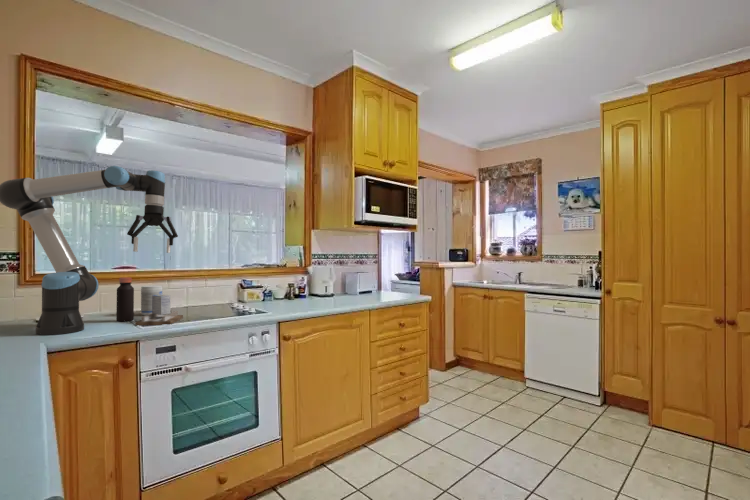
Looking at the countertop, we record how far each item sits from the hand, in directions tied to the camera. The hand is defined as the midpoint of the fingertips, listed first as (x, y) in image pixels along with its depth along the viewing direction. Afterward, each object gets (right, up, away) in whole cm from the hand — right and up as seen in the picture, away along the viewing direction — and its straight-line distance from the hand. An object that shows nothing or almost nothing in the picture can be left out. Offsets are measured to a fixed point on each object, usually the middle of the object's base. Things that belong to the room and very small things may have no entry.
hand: (152, 252), depth 175 cm
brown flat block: (+2, -32, +3) cm, 32 cm away
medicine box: (+2, -29, +3) cm, 29 cm away
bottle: (-15, -32, +5) cm, 36 cm away
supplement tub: (-14, -32, +24) cm, 42 cm away
